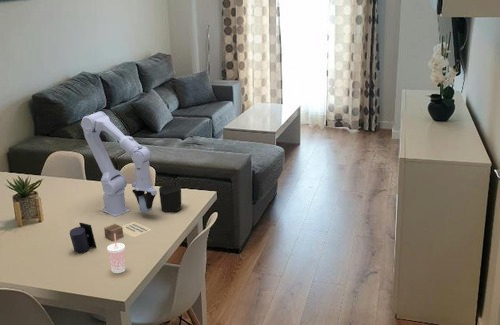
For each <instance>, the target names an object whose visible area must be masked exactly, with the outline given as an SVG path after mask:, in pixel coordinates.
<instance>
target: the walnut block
mask: <svg viewBox="0 0 500 325" xmlns="http://www.w3.org/2000/svg"><path fill="white" fill-rule="evenodd" d="M121 226H122V225H121ZM121 226H120V225H119V224H117V223H113V224H110V225H108V226H105V227H104V228H103V229H104V230H103V232H104V238H105V239H108V240H109V241H111V242H115V239H114V233H115V235H116V241H117V240H119V239H122V238H123V237H124V232H123V228H122V227H121Z"/></svg>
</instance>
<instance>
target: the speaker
mask: <svg viewBox="0 0 500 325" xmlns="http://www.w3.org/2000/svg"><path fill="white" fill-rule="evenodd" d="M69 236H70V240H71V243H72V247H73V250H74V252H75V253H76V254H83V253H85V252H87V251H89V250H90V248H95V249H96V248H97V244H96V243H97V242H96V239H95V237H94V232H93V228H92V225H91V224H88V223H83V222H79V226H77V227H74V228H72V229H70V230H69Z"/></svg>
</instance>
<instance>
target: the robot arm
mask: <svg viewBox="0 0 500 325" xmlns="http://www.w3.org/2000/svg"><path fill="white" fill-rule="evenodd" d="M80 126H81V128H82V130H83V135H84V139H85V141H86V142H87V143H86V144H87V145H88V147H89V149H90V152H91V153H92V155H93V157H94V159H95V161H96V163H97V166H98V168H99V170H100V172H101V174H102V176H101V179H100V183H101V187H102V191H103V195H102V198H103V210H102V212H104V213H106V214H109V215H110V216H112V217H118V216H120V215H123V214H127V213H128V212H130V211H131V209H129V208H127V207H126V198H125V188H126V187H127V185H128V182H127V178H126V177H125V176H124V175H123V174H122V172H121V171H120V170H118V169H116V168H115V166H114V165H113V162H112V160H111V158H110V156H109V153H108V152H107V150H106V148H105V146H104V143H103V141H102V139H101V137H100V134H101V132H105V133H107V134H108V135H109V136H111V137H112V138H113V139H115V140H116V141H118V142H119V147H120V148H121V149H122V150H124V152H126V153H127V154H128V155H129V156H131V160H132V162H133V164H134V167H135V181H133V182H131V188H134V189H132V192H131V193H133V194H134V196H135V198H136V201H137V205H139V196H141V195H143V196H144V198H145V201H146V207H147V209H150V208H152V209H153V204H154V200H155V197H156V195H157V194H158V191H157V189H156V188H155V187H154V186H152V184H151V172H150V171H151V170H150V159H151V158H152V152H151V150H150V149H149V147H147V146H143V145H141V144H139V143H138V142H137V140H135V139H134V137H133V136H130V135H125V134H124V133H123V132H122V131H121V130H120V129H119V128H118V127H117V126H116V125H115V124H114V123H113V122H112V121H111V120H110V117H109V115H107V114H106V113H105V112H104V111H101V110H100V111H99V110H98V111H97V112H94V113H92V114H88V115H85V116H83V117H82V119H81V122H80Z"/></svg>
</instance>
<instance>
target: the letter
mask: <svg viewBox="0 0 500 325" xmlns="http://www.w3.org/2000/svg"><path fill="white" fill-rule="evenodd" d="M121 227H122V228H123V234H125V235H128V236H129V237H132V238H135V237H138V236H140V235H143V234H145V233H147V232H150V231H152V229H151V228H149V227H147V226H145V225H143V224H140V222H139V223H138V222H136V221H131V222H129V223H127V224H124V225H121Z"/></svg>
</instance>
